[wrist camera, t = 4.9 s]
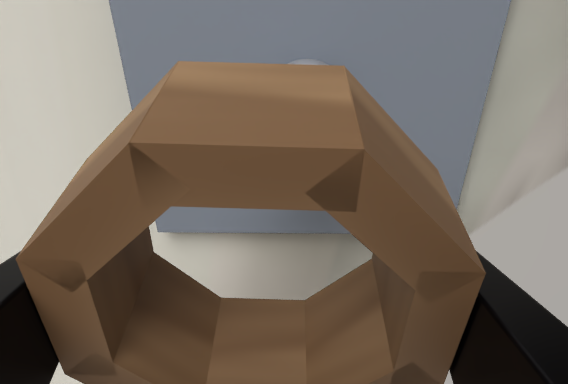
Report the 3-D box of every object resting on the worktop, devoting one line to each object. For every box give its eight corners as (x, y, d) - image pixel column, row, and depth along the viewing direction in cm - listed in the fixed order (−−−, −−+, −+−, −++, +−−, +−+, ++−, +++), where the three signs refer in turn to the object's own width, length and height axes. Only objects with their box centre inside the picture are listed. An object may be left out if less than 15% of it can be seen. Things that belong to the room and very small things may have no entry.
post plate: (528, -121, 15) (618, -117, 11) (444, 221, 23) (477, 298, 19) (95, -118, 15) (21, -113, 11) (162, 219, 23) (134, 295, 19)
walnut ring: (462, 68, 8) (531, 153, 6) (396, 328, 12) (421, 441, 10) (60, 57, 8) (-38, 137, 6) (130, 320, 12) (89, 431, 10)
